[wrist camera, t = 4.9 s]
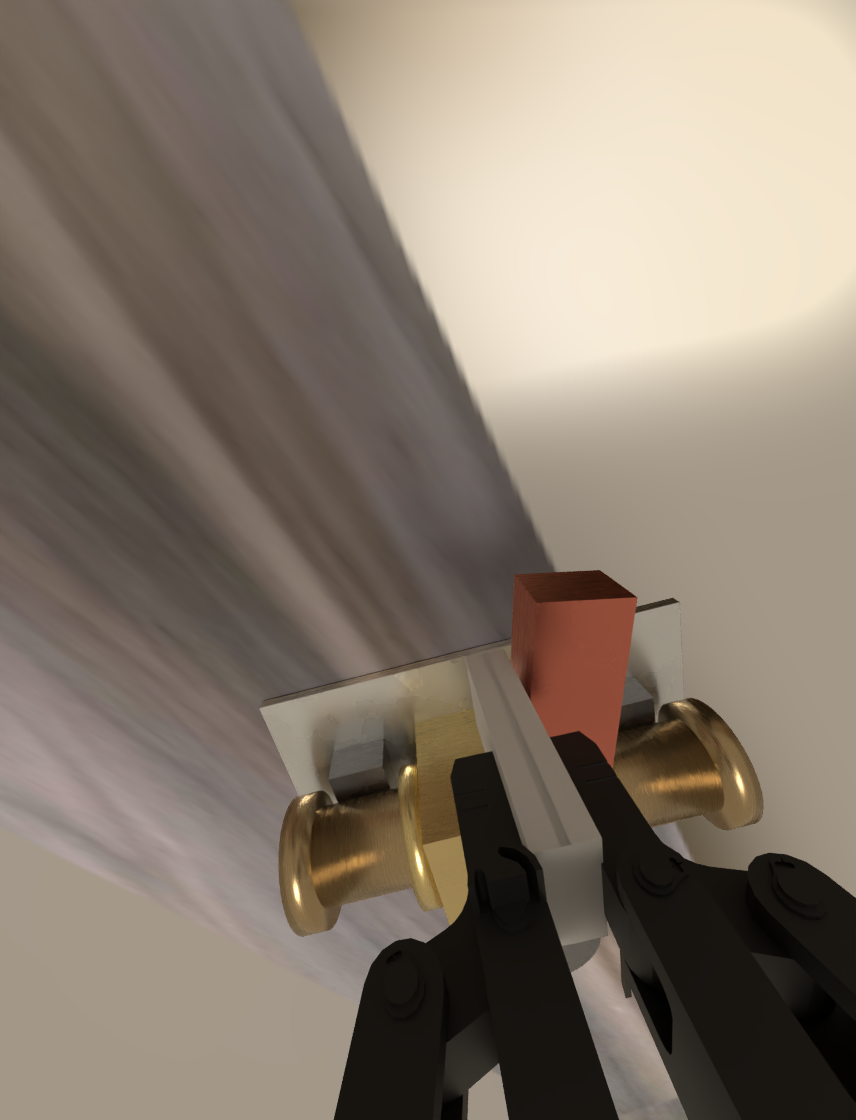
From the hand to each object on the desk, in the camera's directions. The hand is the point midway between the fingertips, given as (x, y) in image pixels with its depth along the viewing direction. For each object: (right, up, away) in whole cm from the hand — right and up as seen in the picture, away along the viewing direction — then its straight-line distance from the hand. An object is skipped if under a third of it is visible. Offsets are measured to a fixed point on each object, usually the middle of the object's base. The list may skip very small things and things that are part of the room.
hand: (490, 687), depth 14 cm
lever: (+2, -4, +2) cm, 5 cm away
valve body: (+2, -7, +12) cm, 14 cm away
